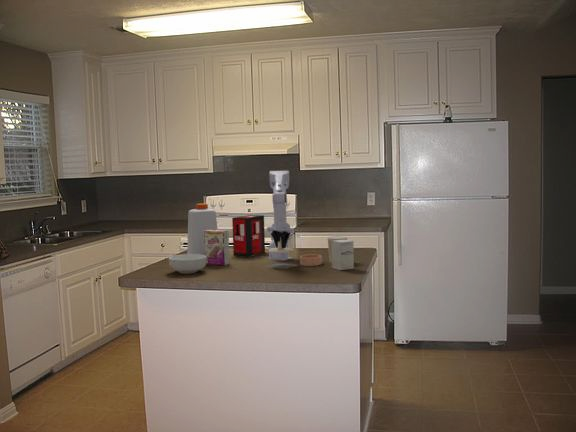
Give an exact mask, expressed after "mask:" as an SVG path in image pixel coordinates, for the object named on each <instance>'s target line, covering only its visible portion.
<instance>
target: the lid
mask: <svg viewBox="0 0 576 432" xmlns="http://www.w3.org/2000/svg"><path fill="white" fill-rule="evenodd" d="M293 251H294V248H292V247H288V248H282V245H281V241H278V248H271V249H269V248H268V249H267V252H268V253H269V252H277V253H282V252H289V253H290V252H293Z"/></svg>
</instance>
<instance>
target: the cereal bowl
mask: <svg viewBox="0 0 576 432" xmlns="http://www.w3.org/2000/svg"><path fill="white" fill-rule="evenodd" d="M206 260H207V257H206V256H205V255H199V254H187V253H185V254H176V255H175V254H174V255H171V256H169V257H168V264H169V266H170V268H171V269H172V270H174V271H176V272H178V273H179V274H184V275H186V274H195V273H197V272H198V271H201V270H202V269H204V268H205V267H206V265H207V264H206Z"/></svg>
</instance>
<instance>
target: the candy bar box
mask: <svg viewBox="0 0 576 432" xmlns="http://www.w3.org/2000/svg"><path fill="white" fill-rule="evenodd" d="M229 237H230V236H229V230H225V229H223V230H221V229H218V230H205V231H204V243H205V256H206V257H207V260H206V265H211V266H227V265H230V243H229V242H230V240H229V239H230V238H229Z"/></svg>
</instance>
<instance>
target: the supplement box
mask: <svg viewBox="0 0 576 432" xmlns="http://www.w3.org/2000/svg"><path fill="white" fill-rule="evenodd" d="M354 258H355V257H354V240H350V239H347V240H334V241H332V263H331V268H332V269H334V270H338V271H343V270H344V271H345V270H354V267H355V264H354V263H355V262H354Z"/></svg>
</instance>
